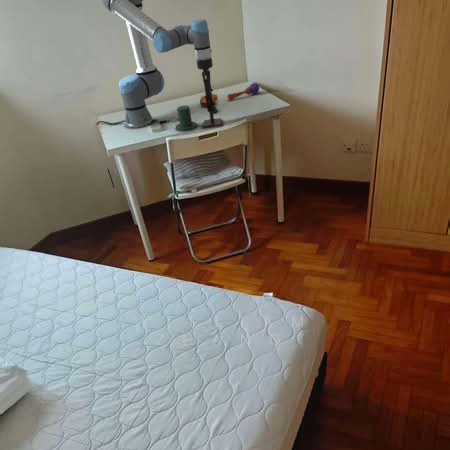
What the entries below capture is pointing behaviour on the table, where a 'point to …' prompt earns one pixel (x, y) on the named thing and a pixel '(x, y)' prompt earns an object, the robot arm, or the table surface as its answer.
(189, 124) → the stand
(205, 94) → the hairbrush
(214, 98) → the ring
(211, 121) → the post
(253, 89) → the kendama
